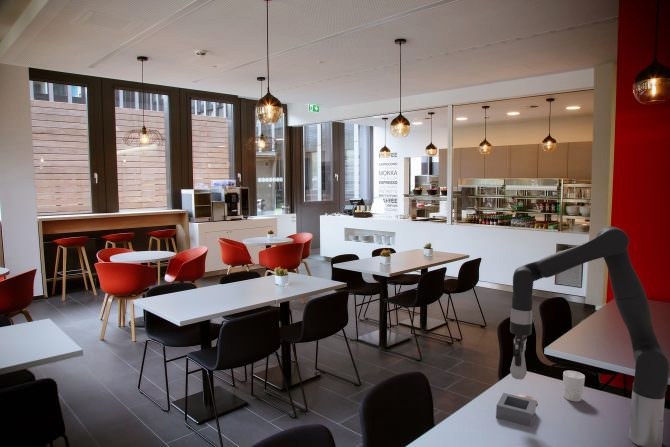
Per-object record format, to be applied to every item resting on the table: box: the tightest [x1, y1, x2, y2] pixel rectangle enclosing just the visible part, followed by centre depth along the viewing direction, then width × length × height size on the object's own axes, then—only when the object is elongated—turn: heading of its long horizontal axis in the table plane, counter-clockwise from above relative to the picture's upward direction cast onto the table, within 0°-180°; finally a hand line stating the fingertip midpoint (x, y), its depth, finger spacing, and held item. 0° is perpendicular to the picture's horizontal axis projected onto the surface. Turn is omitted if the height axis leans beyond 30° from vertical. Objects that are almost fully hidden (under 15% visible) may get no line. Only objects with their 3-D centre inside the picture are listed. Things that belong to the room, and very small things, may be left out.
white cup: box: [562, 370, 586, 403], centre depth 193 cm, size 8×8×10 cm
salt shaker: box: [509, 344, 528, 380], centre depth 177 cm, size 6×6×13 cm
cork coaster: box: [515, 394, 538, 406], centre depth 190 cm, size 9×9×1 cm
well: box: [495, 392, 537, 427], centre depth 178 cm, size 12×12×5 cm
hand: (518, 365), depth 177 cm, fingers closed on salt shaker, 3 cm apart
